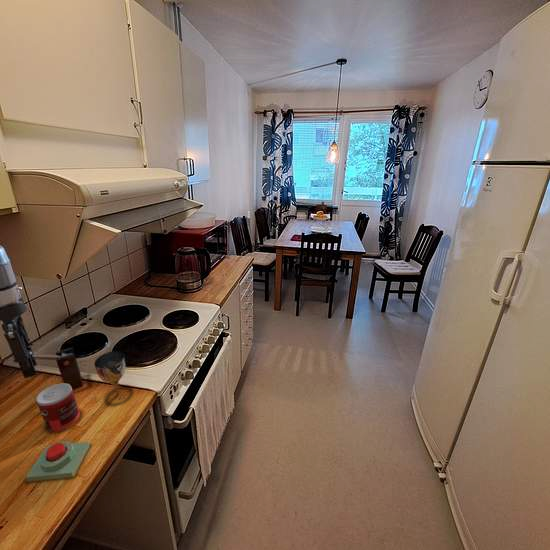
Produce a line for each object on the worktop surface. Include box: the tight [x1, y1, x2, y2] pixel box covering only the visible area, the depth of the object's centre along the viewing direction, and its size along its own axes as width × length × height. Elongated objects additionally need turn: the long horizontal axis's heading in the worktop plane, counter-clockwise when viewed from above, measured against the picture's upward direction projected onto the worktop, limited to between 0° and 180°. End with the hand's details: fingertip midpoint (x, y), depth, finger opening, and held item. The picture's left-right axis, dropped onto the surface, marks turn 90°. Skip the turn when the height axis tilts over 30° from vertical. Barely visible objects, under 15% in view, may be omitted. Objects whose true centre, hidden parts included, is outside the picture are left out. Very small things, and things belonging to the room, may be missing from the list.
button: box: [46, 442, 66, 462], centre depth 69 cm, size 4×4×2 cm
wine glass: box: [93, 350, 127, 396], centre depth 88 cm, size 8×8×15 cm
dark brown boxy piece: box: [55, 347, 84, 391], centre depth 92 cm, size 8×7×14 cm
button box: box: [25, 440, 90, 483], centre depth 70 cm, size 10×8×4 cm
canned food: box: [36, 382, 81, 431], centre depth 80 cm, size 8×8×11 cm
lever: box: [27, 350, 72, 361], centre depth 87 cm, size 13×4×4 cm, turn 127°
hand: (31, 370), depth 85 cm, fingers open, 4 cm apart
